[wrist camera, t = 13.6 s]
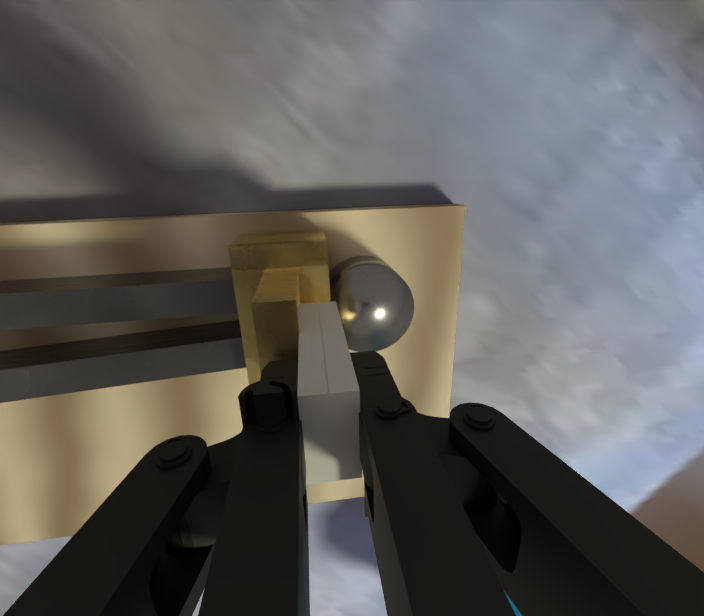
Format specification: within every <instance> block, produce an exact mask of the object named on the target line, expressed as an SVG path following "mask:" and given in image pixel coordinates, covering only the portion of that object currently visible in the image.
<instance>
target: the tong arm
mask: <svg viewBox="0 0 704 616" xmlns="http://www.w3.org/2000/svg"><path fill="white" fill-rule="evenodd" d="M240 368H246V362H245V356H244V349H243V343H242V336H241V330H240V323H239V320H232V321H225V322H217V323H209V324H202V325H194V326H187V327H179V328H171V329H164V330H156V331H149V332H141V333H133V334H126V335H118V336H111V337H103V338H96V339H88V340H80V341H73V342H65V343H58V344H50V345H42V346H35V347H27V348H20V349H12V350H4V351H0V403H4V402H11V401H18V400H25V399H32V398H39V397H46V396H53V395H60V394H67V393H74V392H81V391H88V390H94V389H101V388H108V387H115V386H122V385H129V384H136V383H143V382H150V381H157V380H164V379H171V378H178V377H185V376H192V375H199V374H206V373H213V372H220V371H226V370H233V369H240Z"/></svg>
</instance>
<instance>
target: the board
mask: <svg viewBox="0 0 704 616" xmlns="http://www.w3.org/2000/svg"><path fill="white" fill-rule="evenodd" d="M464 219H465V205H459V204H431V205H408V206H384V207H360V208H337V209H313V210H289V211H266V212H242V213H218V214H195V215H171V216H147V217H124V218H100V219H76V220H52V221H29V222H5V223H0V281H4V280H21V279H38V278H55V277H72V276H89V275H106V274H123V273H140V272H157V271H174V270H191V269H209V268H226V267H231V265H230V258H229V251H228V246H229V245H230V244H231V243H232V242H233V241H234V240H235V239H237V238H238V237H239V236H240V235H249V234H269V233H290V232H310V231H323V232H324V234H325V237H326V239H327V246H328V264H329V273H330V271H331V270H332V269H333V268H334V267H335V266H336V265H338V264H339V263H340V262H342V261H344V260H346V259H348V258H351V257H355V256H371V257H375V258H378V259H380V260H382V261H384V262H386V263H387V264H388V265H389V266H391V267H392V268H393V269H394V270H395V271H396V272H397V274H398V275H399V276H400V277H401V278H402V279H403V280H404V281H405V282H406V283H407V285H408V286H409V288H410V290H411V292H412V295H413V299H414V314H413V319H412V321H411V324H410V326H409V328H408V330H407V331H406V332H405V334H404V335H403V336H402V337H401V338H400V339H399V340H398V341H397V342H396V343H394V344H393V345H391V346H389V347H387V348H385V349H383V350H380V351H376V352H377V353H379V354H380V355H381V356H383V357H384V359H385V361H386V363H387V365H388V368H389V370H390V372H391V374H392V377H393V379H394V381H395V383H396V385H397V388H398V390H399V392H400V394H401V396H402V397H403V398H405V399H406V400H408V401H410V402H411V403H412V404H413V406H414V407H415V408H416V410H417V412H418V413H421V414H424V415H428V416H433V417H442V418H449V407H450V395H451V382H452V370H453V357H454V344H455V332H456V319H457V307H458V294H459V282H460V269H461V257H462V244H463V231H464ZM232 320H239V317H238V313H234V314H220V315H206V316H193V317H179V318H165V319H152V320H138V321H124V322H111V323H97V324H83V325H69V326H56V327H42V328H28V329H15V330H1V331H0V351H4V350H12V349H20V348H27V347H35V346H42V345H50V344H58V343H65V342H73V341H80V340H88V339H96V338H103V337H111V336H118V335H126V334H133V333H141V332H149V331H156V330H164V329H171V328H179V327H187V326H194V325H202V324H209V323H217V322H225V321H232ZM349 352H350V353H354V352H357V351H353V350H350V349H349ZM248 385H249V382H248V375H247V369H246V368H240V369H233V370H226V371H220V372H213V373H206V374H199V375H192V376H185V377H178V378H171V379H164V380H157V381H150V382H143V383H136V384H129V385H122V386H115V387H108V388H101V389H94V390H88V391H81V392H74V393H67V394H60V395H53V396H46V397H39V398H32V399H25V400H18V401H11V402H4V403H0V545H7V544H14V543H22V542H29V541H36V540H44V539H51V538H59V537H66V536H74V535H75V534H76V532H77V531H78V530H79V529H80V528H81V527H82V526H83V525H84V523H85V522H86V521H87V520H88V519H89V518H90V517H91V515H92V514H93V513H94V512H95V511H96V510H97V509H98V508H99V506H100V505H101V504H102V503H103V502H104V501H105V500H106V498H107V497H108V496H109V495H110V494H111V493H112V492H113V491H114V489H115V488H116V487H117V486H118V485H119V484H120V483H121V481H122V480H123V479H124V478H125V477H126V476H127V475H128V474H129V472H130V471H131V470H132V469H133V468H134V467H135V466H136V465H137V463H138V462H139V461H140V460H141V459H142V458H143V457H144V455H145V454H146V453H148V452H149V451H150V450H151V449H152V448H153V447H154V446H156V445H158V444H160V443H161V442H163V441H165V440H167V439H170V438H173V437H177V436H181V435H195V436H199V437H201V438H202V439H204V440H205V441H206V443H207V447H208V446H211V445H214V444H217V443H220V442H223V441H225V440H228V439H230V438H232V437H234V436H236V435H238V434H239V433H241V432H242V428H243V424H242V418H241V412H240V406H239V400H238V396H239V394H240V393H241V391H242V390H243V389H244V388H246V387H247V386H248ZM306 491H307V501H308V504H312V503H319V502H327V501H334V500H341V499H349V498H356V497H364V476H363V471H362V478H354V479H347V480H339V481H331V482H323V483H315V484H308V485H306Z"/></svg>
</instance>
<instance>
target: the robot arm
mask: <svg viewBox="0 0 704 616" xmlns="http://www.w3.org/2000/svg"><path fill="white" fill-rule="evenodd" d="M238 400H239V406H240V412H241V418H242V424H243V428H242V432H241V433H239V434H238V435H236V436H234V437H232V438H230V439H228V440H225V441H223V442H220V443H217V444H214V445H211V446H208V447H207V443H206V441H205V440H204V439H202V438H201V437H199V436H195V435H181V436H177V437H173V438H170V439H167V440H165V441H163V442H161V443H160V444H158V445H156V446H154V447H153V448H152V449H151V450H150V451H149V452H148V453H146V454H145V455H144V457H143V458H142V459H141V460H140V461H139V462H138V463H137V465H136V466H135V467H134V468H133V469H132V470H131V471H130V472H129V474H128V475H127V476H126V477H125V478H124V479H123V480H122V481H121V483H120V484H119V485H118V486H117V487H116V488H115V489H114V491H113V492H112V493H111V494H110V495H109V496H108V497H107V498H106V500H105V501H104V502H103V503H102V504H101V505H100V506H99V508H98V509H97V510H96V511H95V512H94V513H93V514H92V515H91V517H90V518H89V519H88V520H87V521H86V522H85V523H84V525H83V526H82V527H81V528H80V529H79V530H78V531H77V532H76V534H75V535H74V536H73V537H72V538H71V539H70V540H69V541H68V543H67V544H66V545H65V546H64V547H63V548H62V549H61V551H60V552H59V553H58V554H57V555H56V556H55V557H54V558H53V560H52V561H51V562H50V563H49V564H48V565H47V566H46V568H45V569H44V570H43V571H42V572H41V573H40V574H39V575H38V577H37V578H36V579H35V580H34V581H33V582H32V583H31V585H30V586H29V587H28V588H27V589H26V590H25V591H24V592H23V594H22V595H21V596H20V597H19V598H18V599H17V600H16V601H15V603H14V604H13V605H12V606H11V607H10V608H9V609H8V611H7V612H6V613H5V614H4V615H3V616H192V614H193V612H194V610H195V608H196V605H197V603H198V601H199V599H200V597H201V594H202V592H203V590H204V593H203V598H202V602H201V606H200V610H199V615H198V616H310V603H309V548H308V501H307V491H306V485H308V484H315V483H323V482H331V481H339V480H347V479H354V478H362V471H363V476H364V498H365V517H367V516H369V521H370V526H371V531H372V537H373V542H374V547H375V552H376V557H377V563H378V568H379V573H380V578H381V584H382V589H383V594H384V599H385V604H386V610H387V615H388V616H516V615H515V613H514V611H513V608H512V606H511V604H510V602H509V600H508V598H507V596H506V594H507V595H508V597H509V598H510V599H511V601H512V602H513V604H514V605H515V606H516V608H517V609H518V611H519V612H520V613H521V615H522V616H704V572H702V571H701V570H700V569H699V568H697V567H696V566H695V565H694V564H692V563H691V562H690V561H688V560H687V559H686V558H685V557H683V556H682V555H681V554H679V553H678V552H677V551H676V550H674V549H673V548H672V547H671V546H670V545H668V544H667V543H666V542H664V541H663V540H662V539H661V538H659V537H658V536H657V535H655V534H654V533H653V532H652V531H651V530H649V529H648V528H646V527H645V526H644V525H643V524H642V523H640V522H639V521H638V520H636V519H635V518H634V517H633V516H632V515H630V514H629V513H628V512H626V511H625V510H624V509H623V508H621V507H620V506H619V505H618V504H616V503H615V502H614V501H613V500H611V499H610V498H609V497H607V496H606V495H605V494H604V493H602V492H601V491H600V490H599V489H597V488H596V487H595V486H594V485H592V484H591V483H590V482H588V481H587V480H586V479H585V478H583V477H582V476H581V475H580V474H578V473H577V472H576V471H575V470H573V469H572V468H571V467H569V466H568V465H567V464H566V463H564V462H563V461H562V460H561V459H559V458H558V457H557V456H556V455H554V454H553V453H552V452H551V451H549V450H548V449H547V448H545V447H544V446H543V445H542V444H540V443H539V442H538V441H537V440H535V439H534V438H533V437H532V436H530V435H529V434H528V433H526V432H525V431H524V430H523V429H521V428H520V427H519V426H518V425H516V424H515V423H514V422H513V421H511V420H510V419H509V418H507V417H506V416H505V415H504V414H502V413H501V412H499V411H498V410H496V409H494V408H493V407H490V406H487V405H484V404H479V403H464V404H460V405H458V406H456V407H454V408H453V409H452V411H451V412H450V418H442V417H433V416H428V415H424V414H421V413H418V412H417V410H416V408H415V407H414V406H413V404H412V403H411V402H410V401H408V400H406V399H405V398H403V397H402V396H401V394H400V392H399V390H398V388H397V385H396V383H395V381H394V379H393V377H392V374H391V372H390V370H389V368H388V365H387V363H386V361H385V359H384V357H383V356H381V355H380V354H379V353H377V352H376V351H365V352H354V353H350V352H349V348H348V345H347V341H346V337H345V333H344V330H343V326H342V322H341V318H340V315H339V311H338V307H337V304H336V301H333V302H319V303H305V304H300V324H299V350H298V359H287V360H276V361H270V362H269V363H268V364H267V365H266V366H265V367H264V368H263V369H262V373H261V378H260V381H257V382H255V383H252V384H250V385H248V386H247V387H246V388H244V389H243V390H242V391H241V393H240V394H239V396H238ZM204 588H205V589H204ZM504 591H505V592H504ZM505 593H506V594H505Z"/></svg>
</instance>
